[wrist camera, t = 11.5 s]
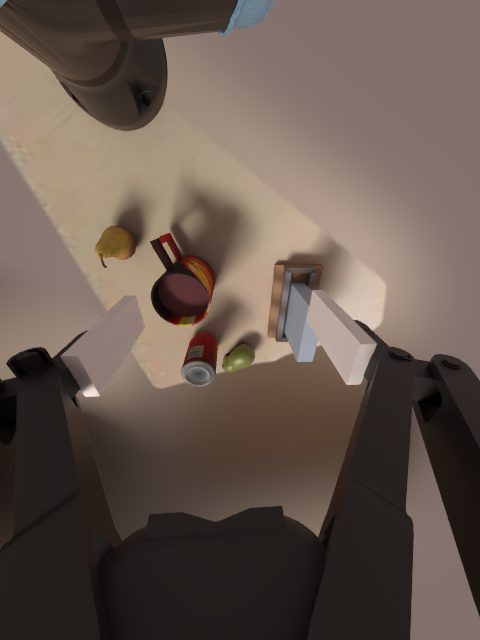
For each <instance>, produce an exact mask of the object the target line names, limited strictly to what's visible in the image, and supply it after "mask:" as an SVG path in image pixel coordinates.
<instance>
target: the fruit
mask: <svg viewBox="0 0 480 640" xmlns="http://www.w3.org/2000/svg"><path fill="white" fill-rule="evenodd" d="M135 250H136V244H135V240H134V238H133V236H132V235H131V234H130V233H129V232H128V231H126V230H124V229H122V228H119V227H115V226H111V227H109V228H107V229H106V230H105V231H104V232H103V234H102V236H101V238H100V239H99V241H98V243H97V244H96V247H95V253H96V255H97V256H98V257H99V258H101V262H102V265H103V267H105V268H106V267H107V266H106V265H105V264H104V262H103V259H102V258H108V257H115V258H117V259H121V260H124V259H128V258H130V257H131V256H132V255H133V254H134V253H135Z"/></svg>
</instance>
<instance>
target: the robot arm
mask: <svg viewBox="0 0 480 640" xmlns="http://www.w3.org/2000/svg"><path fill="white" fill-rule="evenodd" d="M274 1H275V0H0V31H1V32H3V33H4V34H5V35H7V36H8V37H9V38H11V39H12V40H13V41H15V42H16V43H17V44H19V45H20V46H21V47H23V48H24V49H25V50H27V51H28V52H29V53H31V54H32V55H33V56H35V57H36V58H37V59H39V60H40V61H41V62H43V63H44V64H45V65H47V66H48V67H49V68H50V69H51V70H52V72H53V73H54V75H55V76H56V78H57V79H58V80H59V82H60V83H61V85H62V86H63V88H64V89H65V91H66V92H67V93H68V94H69V96H70V97H71V98H72V99H73V100H74V101H75V102H76V103H77V105H78V106H79V107H81V108H82V109H83V110H84V111H85V112H86V113H88V114H89V115H90V116H92V117H93V118H95V119H96V120H98V121H99V122H101V123H102V124H104V125H106V126H108V127H111V128H113V129H117V130H122V131H131V130H136V129H139V128H142V127H144V126H145V125H147V124H148V123H149V122H150V121H152V119H153V118H154V117H155V116H156V115H157V113H158V111H159V110H160V108H161V105H162V103H163V100H164V97H165V92H166V87H167V59H166V53H165V48H164V44H163V40H162V38H164V37H174V36H183V35H192V34H200V33H209V32H218V34H219V35H226V34H228V33H229V32H230V31H231V30H235V29H240V28H245V27H251V26H255V25H257V24H259V23H260V22H261V21H262V20H263V19H264V17H265V16H266V14H267V13H269V11H270V9H271V8H272V6H273V3H274ZM307 322H308V324H309V326H310V327H311V329H312V330H313V332H314V334H315V335H316V337H317V338H318V340H319V342H320V343H321V345H322V346H323V348H324V349H325V351H326V353H327V354H328V356H329V358H330V359H331V361H332V362H333V364H334V365H335V367H336V369H337V370H338V372H339V374H340V375H341V377H342V378H343V380H344V381H345V383H346V385H355V384H361V382H362V379H363V377H365V378H366V379H367V381H368V384H367V386H366V388H365V390H364V393H363V395H362V396H363V398H362V402H361V405H360V408H359V411H358V415H357V418H356V421H355V425H354V428H353V431H352V434H351V437H350V440H349V444H348V447H347V450H346V454H345V457H344V460H343V464H342V466H341V470H340V473H339V476H338V479H337V483H336V486H335V489H334V492H333V496H332V499H331V502H330V505H329V509H328V511H327V514H326V516H325V519H324V522H323V524H322V527H321V530H320V533H319V537H317V536H316V535H315V534H314V533H313V532H312V531H310V530H309V529H308V528H307V527H306V526H304V525H303V524H301V523H300V522H298V521H296V520H294V519H292V518H290V517H287V516H284V515H283V509H282V506H274V507H258V508H249V509H247V510H244V511H242V512H240V513H237V514H235V515H232V516H230V517H228V518H226V519H223V520H221V521H218V522H213V521H210V520H206V519H203V518H200V517H196V516H193V515H190V514H186V513H183V512H180V513H163V514H150V515H149V519H148V523H147V526H145V527H143V528H141V529H139V530H137V531H135V532H134V533H133V534H131V535H130V536H128V537H127V538H126V539H124V540H123V541H122V540H121V537H120V535H119V533H118V531H117V529H116V527H115V525H114V522H113V519H112V516H111V512H110V509H109V505H108V502H107V499H106V495H105V491H104V488H103V484H102V481H101V477H100V474H99V471H98V467H97V463H96V460H95V457H94V453H93V450H92V446H91V443H90V439H89V436H88V432H87V429H86V425H85V422H84V418H83V415H82V411H81V408H80V404H79V401H78V399H77V397H76V396H75V395H76V394H77V392H78V391H79V390H80V389H81V391H82V393H83V394H84V396H85V397H91V396H100V395H101V394H102V392H103V391H104V389H105V388H106V386H107V385H108V383H109V381H110V380H111V378H112V377H113V375H114V374H115V372H116V371H117V369H118V368H119V366H120V364H121V363H122V361H123V360H124V358H125V357H126V355H127V354H128V352H129V351H130V349H131V348H132V346H133V345H134V343H135V342H136V340H137V339H138V337H139V335H140V334H141V332H142V331H143V329H144V328H145V326H144V322H143V319H142V316H141V313H140V309H139V306H138V303H137V299H136V296H124V297H123V298H122V299H121V300H120V301H119V302H118V303H117V304H116V305H115V306H113V307H112V308H111V309H110V310H109V311H108V312H107V313H106V314H105V315H104V316H103V317H102V318H101V319H100V320H99V321H97V322H96V323H95V324H94V325H93V326H92V327H91V328H90V329H89V330H87V331H85V332H83V333H81V334H79V335H78V336H77V337H75V338H74V339H73V340H72V342H70V343H69V344H68V345H67V346H66V347H65V348H63V349H62V350H61V351H60V352H59V353H58V354H57V355H56V356H55V357H53V358H51V357H50V355H49V354H48V352H47V350H46V349H45V348H42V347H38V348H32V349H28V350H25V351H23V352H20V353H18V354H16V355H15V356H13V357H11V358H10V359H9V360H8V362H7V363H6V364H7V366H8V367H9V368H10V369H11V371H12V372H13V373H14V374H15V376H16V378H12V379H8V380H3V381H2V380H1V379H0V496H1V494H2V490H3V488H4V485H5V483H6V480H7V477H8V474H9V471H10V469H11V466H12V463H13V461H14V458H15V455H16V463H15V509H14V534H13V537H12V539H11V540H10V541H9V542H7V543H6V544H4V545H3V547H2V548H1V550H0V640H410V625H411V624H410V623H411V596H412V567H413V538H414V533H413V522H412V519H411V517H409V516H408V515H407V514H406V492H407V476H408V461H409V445H410V430H411V414H412V405H413V408H414V412H415V415H416V418H417V421H418V424H419V428H420V431H421V434H422V437H423V440H424V443H425V447H426V450H427V453H428V456H429V459H430V463H431V466H432V469H433V472H434V475H435V478H436V482H437V485H438V488H439V491H440V494H441V497H442V501H443V504H444V507H445V510H446V513H447V516H448V520H449V523H450V526H451V529H452V532H453V536H454V539H455V542H456V545H457V548H458V551H459V555H460V558H461V561H462V564H463V567H464V570H465V574H466V577H467V580H468V583H469V586H470V589H471V592H472V596H473V599H474V602H475V605H476V607H477V610H478V613H479V616H480V381H479V379H478V378H477V377H476V375H475V374H474V373H473V371H472V370H471V368H470V367H469V366H468V365H467V364H465V363H464V362H462V361H461V360H460V359H457V358H455V357H452V356H448V355H442V354H437V355H434V356H433V357H432V359H431V360H430V362H428V361H423V360H416V359H414V357H413V356H412V355H411V354H409V353H408V352H406V351H404V350H402V349H399V348H395V347H389V346H388V345H387V344H386V343H385V342H384V341H383V340H382V339H380V338H379V337H378V336H377V335H376V334H375V333H374V332H373V331H372V330H371V329H370V328H369V327H368V326H367V325H365V324H364V323H362V322H360V321H358V320H353V319H352V318H351V317H350V316H349V315H348V314H347V313H346V312H345V311H344V310H343V309H342V308H341V307H339V306H338V305H337V304H336V303H335V302H334V301H333V300H332V299H331V298H330V297H329V296H328V295H327V294H326V293H325V292H324V291H323V290H312V296H311V301H310V307H309V312H308V318H307Z"/></svg>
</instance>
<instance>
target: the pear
mask: <svg viewBox="0 0 480 640" xmlns="http://www.w3.org/2000/svg"><path fill="white" fill-rule="evenodd" d="M254 358H255V352H254V350H253V348H252V347H251V346H249V345H247V344H242V345H239V346H238V347H236V348H235V349H234V350H233V351H232V352H231V354H230V356H225V357H224V359H223V364H222V368H223V369H224V370H225V372H234V371H236V370H238V369H243V368H246V367H248V366H249V365H250V364H251V363H252V362H253V361H254Z"/></svg>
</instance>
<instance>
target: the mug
mask: <svg viewBox="0 0 480 640" xmlns="http://www.w3.org/2000/svg"><path fill="white" fill-rule="evenodd" d="M164 242H167V243H168V245H169V247H170V249H171V250H172V252H173V254H174V256H175V258H176V259H177V261H176V262H175V263H174V264H173V263H172V261H171V259H170V258H169V256H168V254H167V252H166V251H165V249H164V247H163V245H162V243H164ZM150 243H151V245H152V246H153V248H154V250H155V252H156V253H157V255H158V257H159V258H160V260H161V261H162V263H163V265H164V266H165V268H166V270H167V271H166V272H165V273H164V274H163V275H162V276H161V277H160V278H159V279H158V280H157V281H156V282H155V284H154V286H153V288H152V291H151V300H152V304H153V307H154V309H155V310H156V312H157V313H158V314H159V315H160V317H162V318H163V319H164V320H166V321H167V322H169V323H172V324H174V325H179V326H190V325H194V324H197V323H198V322H200V321H201V320H203V319H204V318H205V316H206V315H207V314H208V311H209V309H210V304H211V299H212V295H213V290H214V285H215V275H214V272H213V269H212V268H211V266H210V265H209V264H208V263H207V262H206V261H205V260H203V259H201V258H199V257H195V256H186V257H183V256H182V254H181V252H180V251H179V249H178V247H177V245H176V243H175V241H174V240H173V238H172V236H171V233H168V234H165V235H163V236H160V238H157V239H155V240H153V241H150Z"/></svg>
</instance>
